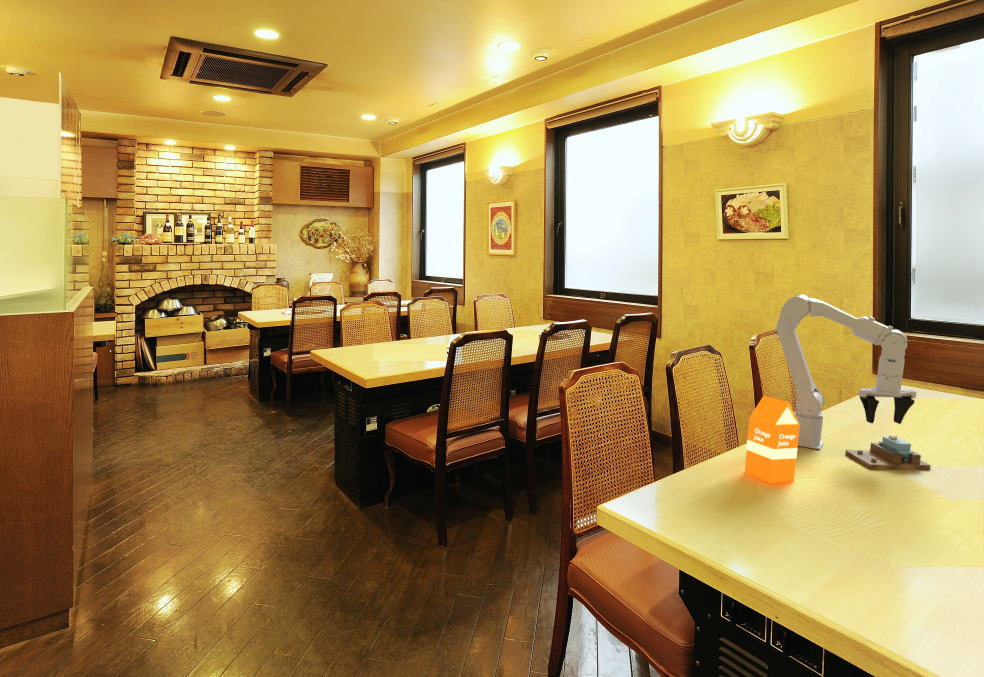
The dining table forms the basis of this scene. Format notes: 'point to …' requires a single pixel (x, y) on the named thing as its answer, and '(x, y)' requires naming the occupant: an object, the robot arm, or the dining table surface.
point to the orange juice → (772, 441)
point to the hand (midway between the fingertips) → (883, 422)
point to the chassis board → (886, 458)
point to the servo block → (897, 446)
